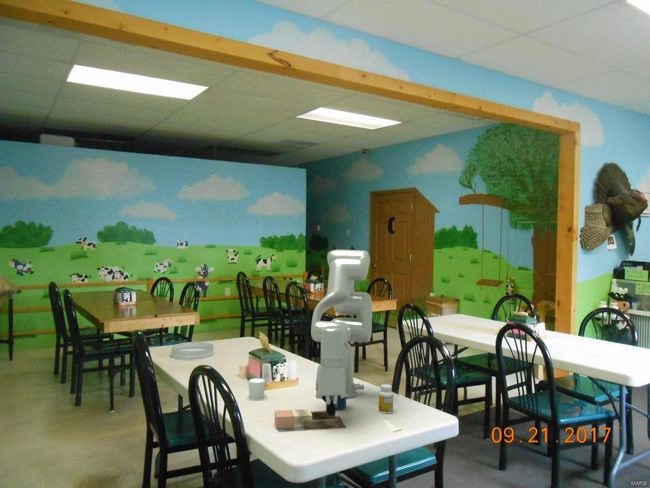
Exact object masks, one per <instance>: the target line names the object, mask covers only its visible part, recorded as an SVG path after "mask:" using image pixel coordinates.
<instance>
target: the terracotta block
mask: <svg viewBox="0 0 650 488" xmlns="http://www.w3.org/2000/svg"><path fill="white" fill-rule="evenodd" d="M292 410H293V409H287V410H286V409H285V410H274V425H275V429H276V430H278V429H287V428H294V417H295V416H294V414H293V411H292Z"/></svg>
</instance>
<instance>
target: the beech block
mask: <svg viewBox="0 0 650 488" xmlns="http://www.w3.org/2000/svg"><path fill="white" fill-rule="evenodd" d="M291 410H292V411H293V414H294V416H295V417H294V428H305V420H312V414H311V412H312V411H311V410H310V408H308V409H307V408H306V409H291Z"/></svg>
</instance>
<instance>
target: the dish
mask: <svg viewBox="0 0 650 488" xmlns="http://www.w3.org/2000/svg"><path fill="white" fill-rule="evenodd" d="M213 354H215V351H214V344H213V343H210V342H204V341H202V342H201V341H191V342H190V341H189V342H181V343H177V344H173V345H172V346H171V351H170V357H171V358H172V359H173V358H174V360H177V361H197V360H196V359H202V360H205V359H204V358H207V357H210V356H212V355H213ZM213 356H214V355H213ZM213 356H212V357H213ZM210 358H211V357H210ZM207 359H208V358H207Z"/></svg>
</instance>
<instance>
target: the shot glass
mask: <svg viewBox="0 0 650 488" xmlns="http://www.w3.org/2000/svg"><path fill="white" fill-rule="evenodd" d="M265 388H266V379H264V378H259V377H256V378H254V377H253V378H250V379H249V380H248V392H249V399H250V400H252V401H253V400H254V401H260V400H263V399H264V397H265V391H266V389H265Z"/></svg>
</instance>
